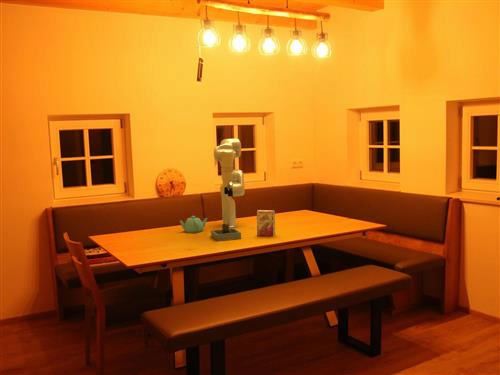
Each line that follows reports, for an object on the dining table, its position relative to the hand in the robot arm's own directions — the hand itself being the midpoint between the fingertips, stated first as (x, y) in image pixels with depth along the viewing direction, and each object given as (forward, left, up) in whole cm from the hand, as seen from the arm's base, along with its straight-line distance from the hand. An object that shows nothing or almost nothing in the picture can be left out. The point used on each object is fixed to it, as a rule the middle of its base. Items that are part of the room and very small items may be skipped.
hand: (228, 195), depth 342 cm
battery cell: (+8, -5, -26) cm, 27 cm away
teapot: (-24, -20, -27) cm, 41 cm away
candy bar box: (+13, +21, -27) cm, 36 cm away
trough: (+8, -5, -27) cm, 28 cm away
